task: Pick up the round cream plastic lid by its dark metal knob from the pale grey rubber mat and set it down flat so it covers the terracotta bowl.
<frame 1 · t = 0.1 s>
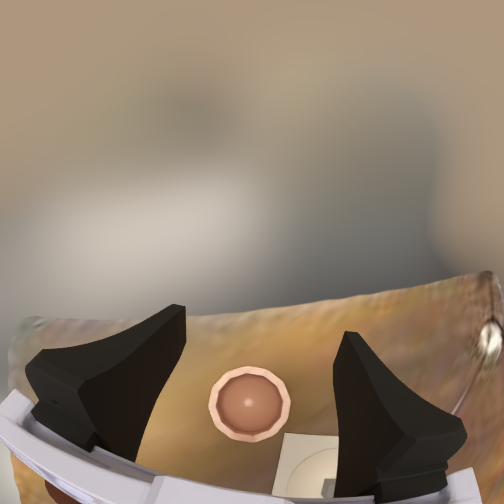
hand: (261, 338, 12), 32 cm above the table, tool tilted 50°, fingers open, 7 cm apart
ice cream bowl: (102, 473, 31), on the table
lid: (330, 485, 30), resting on mat
bowl: (249, 403, 38), on the table
mat: (330, 484, 31), on the table
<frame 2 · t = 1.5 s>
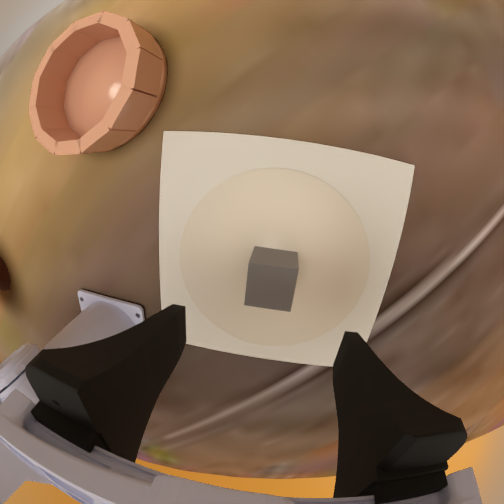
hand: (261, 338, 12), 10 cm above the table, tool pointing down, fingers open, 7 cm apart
ice cream bowl: (1, 271, 27), on the table
lid: (273, 265, 21), resting on mat
bowl: (108, 87, 18), on the table
mat: (274, 263, 21), on the table
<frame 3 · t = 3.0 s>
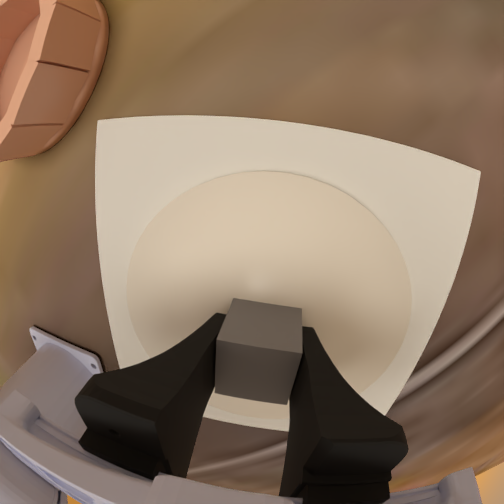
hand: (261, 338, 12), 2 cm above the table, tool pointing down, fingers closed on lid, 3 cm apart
lid: (264, 323, 13), resting on mat, touching gripper
bowl: (42, 71, 10), on the table
mat: (265, 317, 14), on the table
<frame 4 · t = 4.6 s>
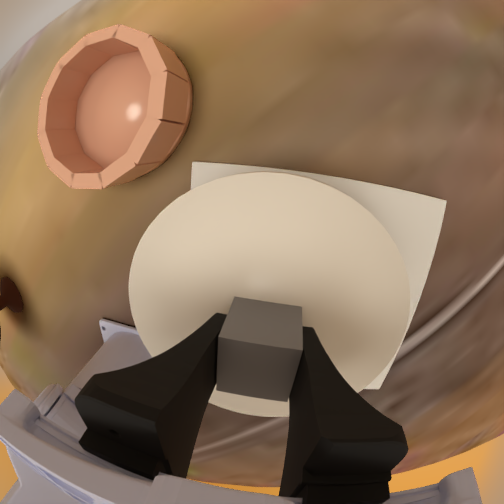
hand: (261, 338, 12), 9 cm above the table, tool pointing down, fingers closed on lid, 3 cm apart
ice cream bowl: (12, 294, 27), on the table
lid: (265, 321, 13), point 7 cm above the table, touching gripper
bowl: (125, 109, 17), on the table
mat: (307, 297, 21), on the table
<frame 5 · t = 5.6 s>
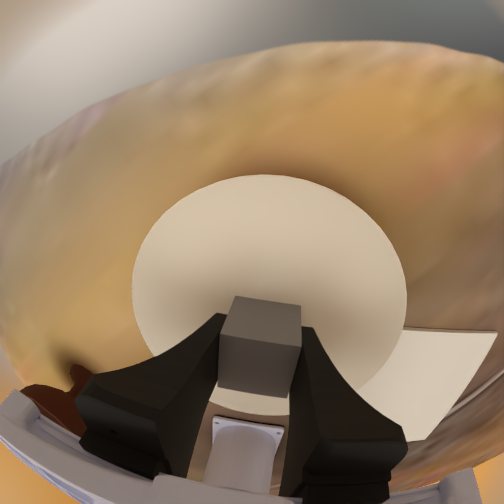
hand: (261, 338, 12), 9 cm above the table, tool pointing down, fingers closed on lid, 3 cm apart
ice cream bowl: (87, 379, 30), on the table
lid: (265, 320, 14), point 7 cm above the table, touching gripper
mat: (397, 397, 23), on the table
when the fingers open (7 cm above the table, at t = 6.2 s): lid stays where it is, resting on bowl.
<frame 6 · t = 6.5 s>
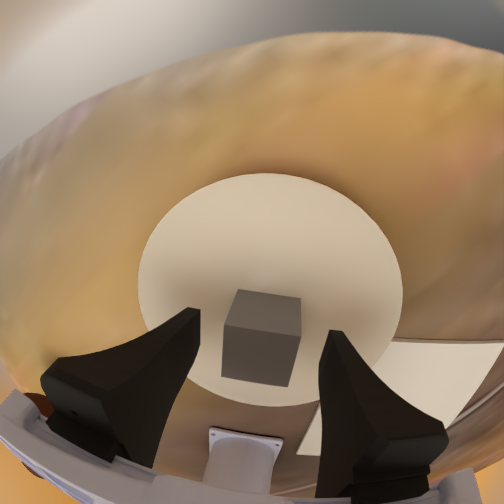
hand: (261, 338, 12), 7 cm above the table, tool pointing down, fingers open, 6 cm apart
ice cream bowl: (80, 387, 28), on the table
lid: (266, 313, 14), point 4 cm above the table, touching bowl
mat: (401, 409, 22), on the table
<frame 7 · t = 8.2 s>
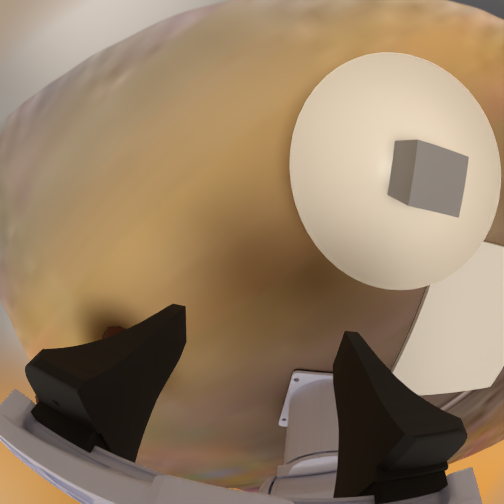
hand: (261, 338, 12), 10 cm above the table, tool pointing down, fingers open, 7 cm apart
lid: (411, 172, 13), point 4 cm above the table, touching bowl
mat: (477, 329, 21), on the table
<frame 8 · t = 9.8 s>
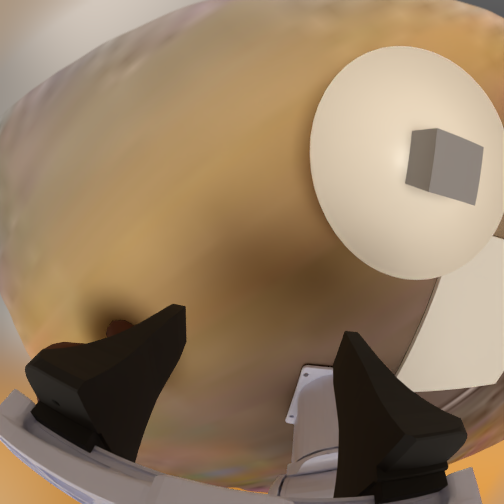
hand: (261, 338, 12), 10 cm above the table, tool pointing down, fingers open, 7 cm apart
ice cream bowl: (129, 340, 27), on the table
lid: (426, 162, 13), point 4 cm above the table, touching bowl
mat: (484, 324, 20), on the table
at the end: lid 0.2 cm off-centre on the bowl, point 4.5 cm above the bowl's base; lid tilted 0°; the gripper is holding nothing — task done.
